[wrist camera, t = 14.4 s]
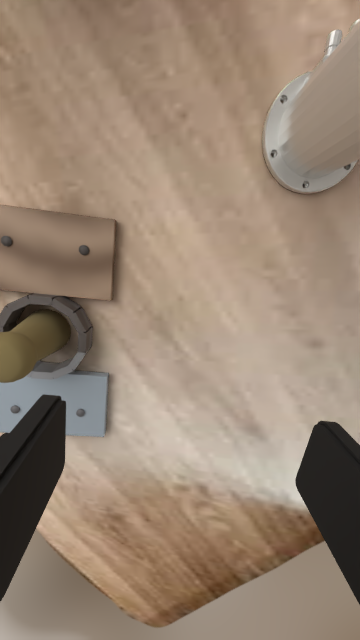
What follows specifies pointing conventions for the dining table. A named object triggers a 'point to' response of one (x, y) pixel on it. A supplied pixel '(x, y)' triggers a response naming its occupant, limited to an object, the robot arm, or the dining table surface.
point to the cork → (31, 343)
